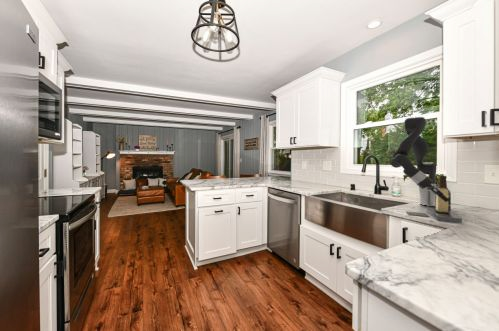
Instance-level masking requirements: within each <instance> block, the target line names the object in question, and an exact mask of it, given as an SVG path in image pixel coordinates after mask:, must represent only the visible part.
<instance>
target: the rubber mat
mask: <svg viewBox="0 0 499 331" xmlns="http://www.w3.org/2000/svg"><path fill="white" fill-rule="evenodd" d="M406 214H407V215H408V216H414V217H425V218H430V215H429V214H428V213H427V212H415V211H406Z"/></svg>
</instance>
